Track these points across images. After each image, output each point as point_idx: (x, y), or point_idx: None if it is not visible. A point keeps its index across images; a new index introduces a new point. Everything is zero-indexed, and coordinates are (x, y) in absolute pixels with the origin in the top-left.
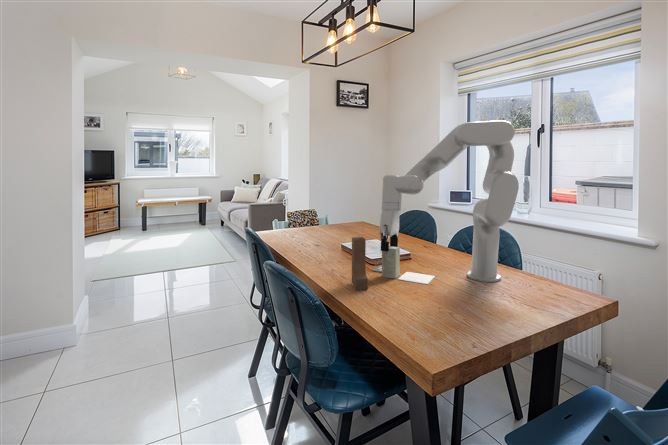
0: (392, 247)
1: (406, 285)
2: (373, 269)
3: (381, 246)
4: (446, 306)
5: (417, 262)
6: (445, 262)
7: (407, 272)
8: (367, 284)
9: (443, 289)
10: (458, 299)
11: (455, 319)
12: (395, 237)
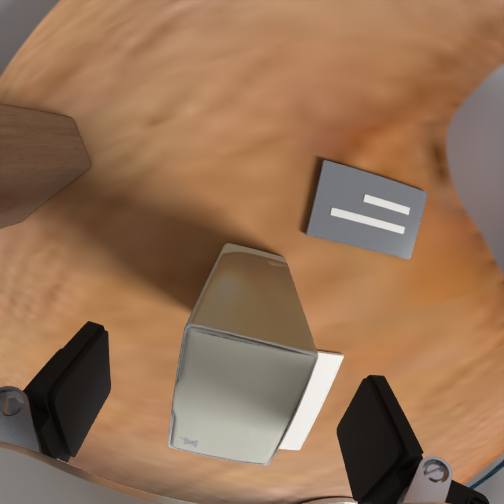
0: (223, 427)
1: (139, 368)
2: (341, 166)
3: (67, 352)
4: None
5: (487, 356)
6: (471, 429)
7: (330, 360)
8: (5, 226)
9: (162, 460)
10: (107, 468)
11: None
12: (372, 494)
